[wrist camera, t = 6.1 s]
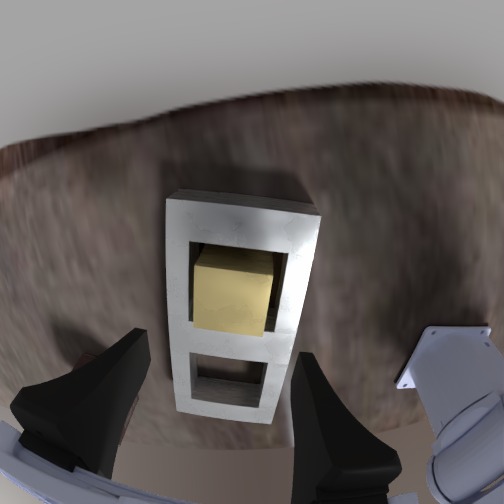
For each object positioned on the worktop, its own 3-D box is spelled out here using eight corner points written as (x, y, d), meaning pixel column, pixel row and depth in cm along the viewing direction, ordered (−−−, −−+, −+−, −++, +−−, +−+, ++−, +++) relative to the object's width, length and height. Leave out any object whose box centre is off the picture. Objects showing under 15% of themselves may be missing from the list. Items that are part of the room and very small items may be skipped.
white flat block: (313, 203, 19) (321, 216, 17) (271, 400, 27) (271, 423, 25) (180, 188, 19) (166, 198, 17) (183, 388, 27) (177, 410, 25)
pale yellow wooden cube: (272, 245, 21) (273, 275, 17) (264, 299, 23) (262, 336, 19) (209, 237, 21) (194, 265, 17) (206, 292, 23) (193, 327, 19)
